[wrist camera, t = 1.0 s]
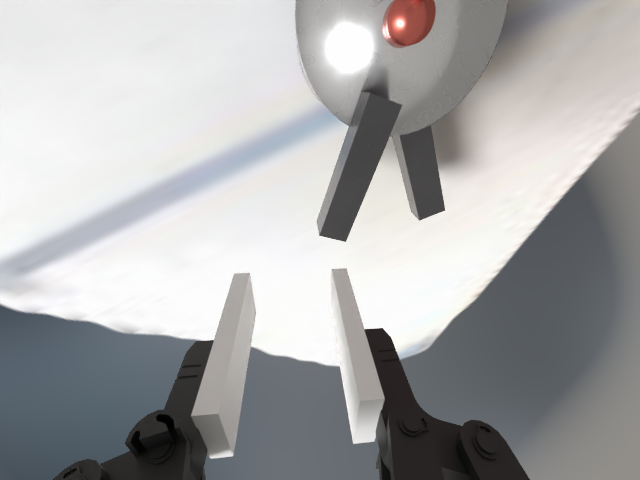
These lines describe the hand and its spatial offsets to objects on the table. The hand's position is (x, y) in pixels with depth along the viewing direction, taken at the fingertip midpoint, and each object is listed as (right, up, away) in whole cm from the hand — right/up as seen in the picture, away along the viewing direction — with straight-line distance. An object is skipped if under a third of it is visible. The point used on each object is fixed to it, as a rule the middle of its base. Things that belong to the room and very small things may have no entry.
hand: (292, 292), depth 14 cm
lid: (+6, +15, +8) cm, 18 cm away
